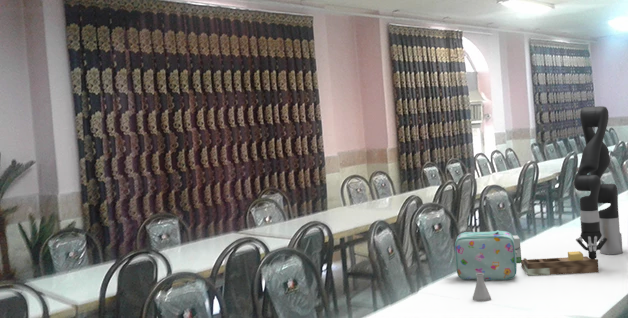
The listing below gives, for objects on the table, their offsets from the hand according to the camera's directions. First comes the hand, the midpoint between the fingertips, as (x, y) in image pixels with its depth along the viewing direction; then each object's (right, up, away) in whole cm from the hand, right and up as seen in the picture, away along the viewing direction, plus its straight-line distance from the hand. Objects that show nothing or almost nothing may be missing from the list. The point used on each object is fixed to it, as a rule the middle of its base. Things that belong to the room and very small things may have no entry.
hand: (592, 259), depth 261 cm
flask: (-56, -12, -25) cm, 62 cm away
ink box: (-24, -6, +28) cm, 38 cm away
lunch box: (-45, -9, +3) cm, 46 cm away
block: (-7, -2, +1) cm, 7 cm away
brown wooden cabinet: (-12, -5, +6) cm, 15 cm away
